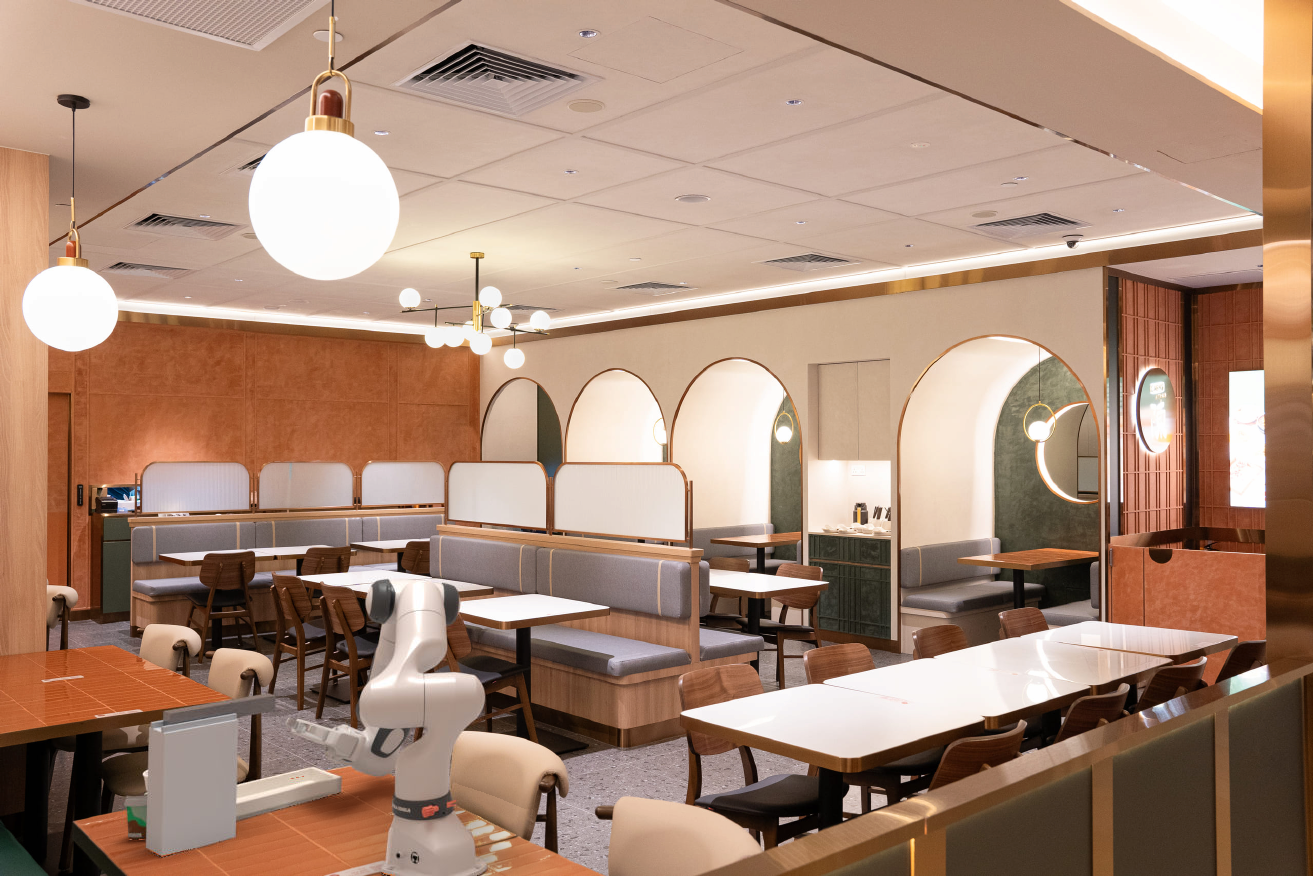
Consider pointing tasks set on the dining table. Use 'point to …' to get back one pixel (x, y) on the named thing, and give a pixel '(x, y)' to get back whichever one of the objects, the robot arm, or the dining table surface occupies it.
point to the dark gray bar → (221, 709)
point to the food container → (137, 816)
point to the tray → (284, 791)
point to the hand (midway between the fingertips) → (297, 724)
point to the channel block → (191, 783)
